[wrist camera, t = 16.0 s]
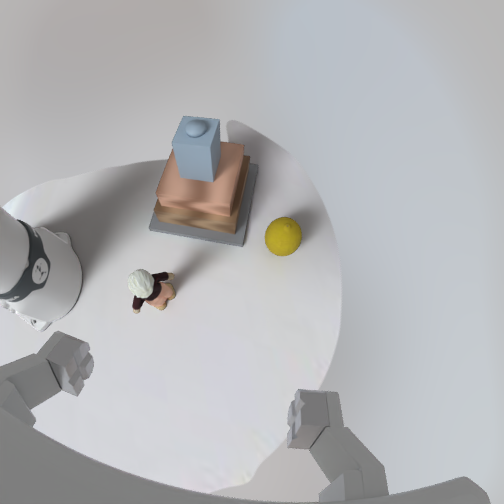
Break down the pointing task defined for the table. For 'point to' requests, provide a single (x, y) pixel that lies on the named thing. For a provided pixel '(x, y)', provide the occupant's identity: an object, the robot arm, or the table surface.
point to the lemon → (283, 236)
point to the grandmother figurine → (150, 289)
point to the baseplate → (210, 234)
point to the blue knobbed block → (197, 148)
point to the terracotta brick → (205, 193)
